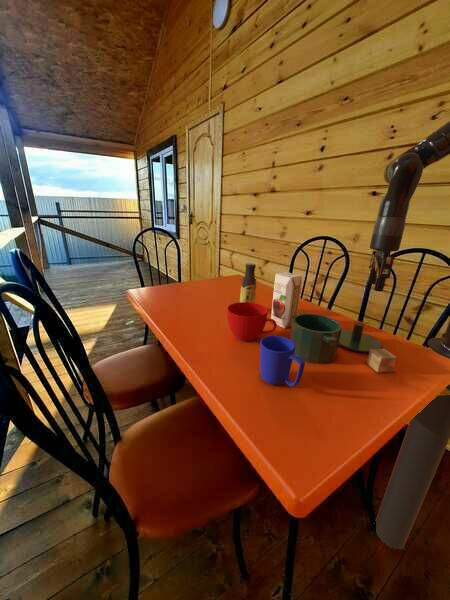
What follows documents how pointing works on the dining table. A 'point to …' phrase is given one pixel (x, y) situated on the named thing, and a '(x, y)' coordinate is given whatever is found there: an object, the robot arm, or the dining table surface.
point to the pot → (315, 337)
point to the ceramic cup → (248, 320)
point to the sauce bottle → (248, 284)
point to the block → (381, 360)
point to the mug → (278, 360)
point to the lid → (358, 339)
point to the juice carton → (286, 298)
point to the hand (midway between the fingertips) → (374, 287)
